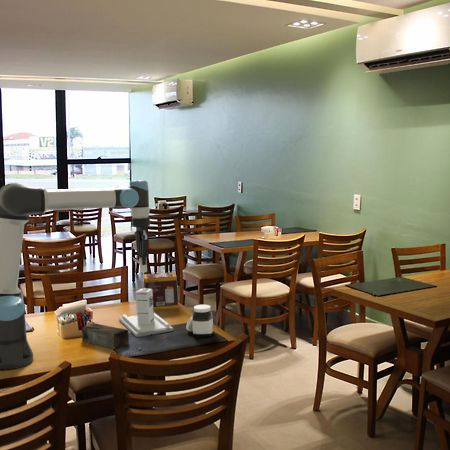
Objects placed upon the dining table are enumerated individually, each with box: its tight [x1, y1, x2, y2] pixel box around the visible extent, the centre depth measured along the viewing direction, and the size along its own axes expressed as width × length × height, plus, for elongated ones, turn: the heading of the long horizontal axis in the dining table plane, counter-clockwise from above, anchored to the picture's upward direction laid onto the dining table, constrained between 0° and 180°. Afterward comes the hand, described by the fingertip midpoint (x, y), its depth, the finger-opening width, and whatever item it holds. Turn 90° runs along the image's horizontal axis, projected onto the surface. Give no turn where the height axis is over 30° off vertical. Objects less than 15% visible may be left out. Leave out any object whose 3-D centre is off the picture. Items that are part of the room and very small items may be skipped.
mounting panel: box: [118, 312, 174, 338], centre depth 244 cm, size 26×16×3 cm, turn 26°
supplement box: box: [143, 271, 179, 311], centre depth 273 cm, size 10×15×16 cm
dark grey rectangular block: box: [81, 322, 130, 350], centre depth 223 cm, size 8×19×7 cm, turn 55°
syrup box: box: [135, 287, 155, 325], centre depth 242 cm, size 6×6×14 cm
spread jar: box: [185, 304, 214, 338], centre depth 231 cm, size 12×11×12 cm
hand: (143, 272), depth 240 cm, fingers closed
